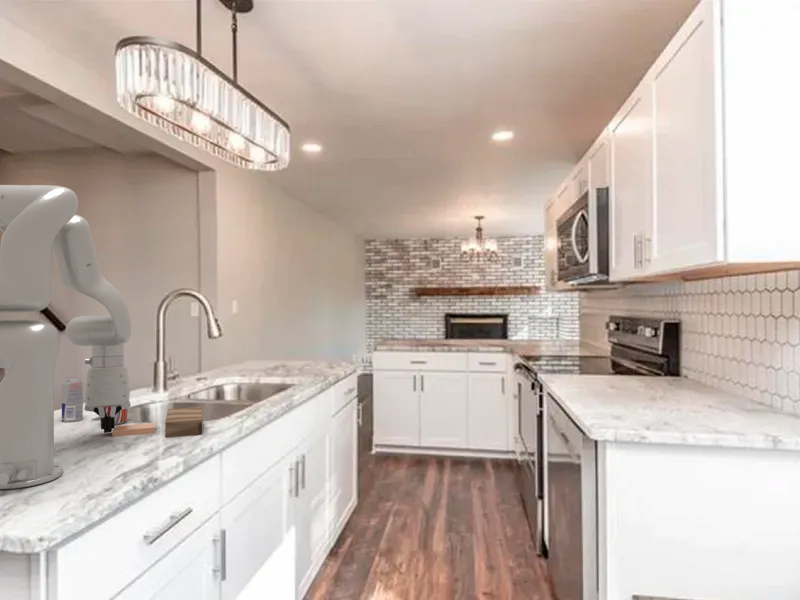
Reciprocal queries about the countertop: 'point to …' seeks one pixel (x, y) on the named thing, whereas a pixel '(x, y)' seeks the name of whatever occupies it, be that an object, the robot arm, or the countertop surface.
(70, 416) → the energy drink
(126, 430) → the tile
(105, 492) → the countertop surface
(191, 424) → the slot block
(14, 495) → the countertop surface
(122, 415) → the soda can
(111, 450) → the countertop surface
